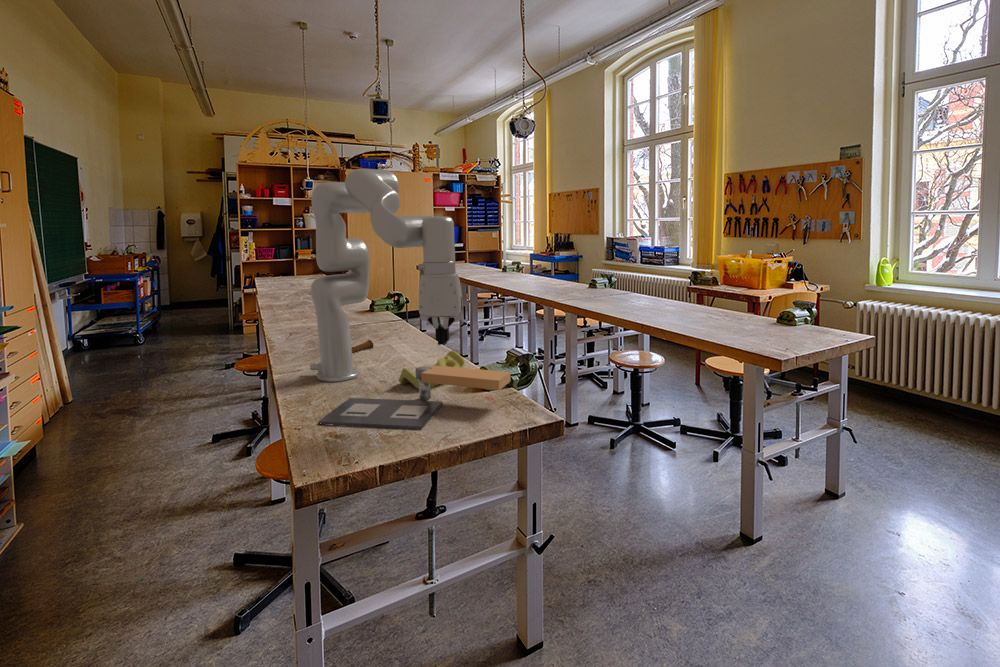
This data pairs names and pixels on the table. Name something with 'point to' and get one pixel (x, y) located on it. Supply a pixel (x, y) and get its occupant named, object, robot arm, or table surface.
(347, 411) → the label plate
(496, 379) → the orange rectangular block
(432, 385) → the plastic component
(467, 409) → the table surface
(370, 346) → the primitive tool
